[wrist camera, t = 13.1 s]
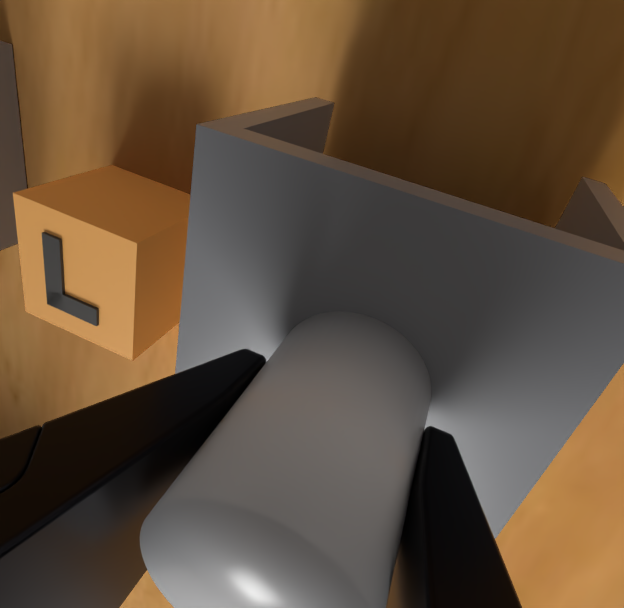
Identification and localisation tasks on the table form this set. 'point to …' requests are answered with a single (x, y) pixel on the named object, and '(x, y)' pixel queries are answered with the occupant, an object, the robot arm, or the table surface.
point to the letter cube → (104, 256)
